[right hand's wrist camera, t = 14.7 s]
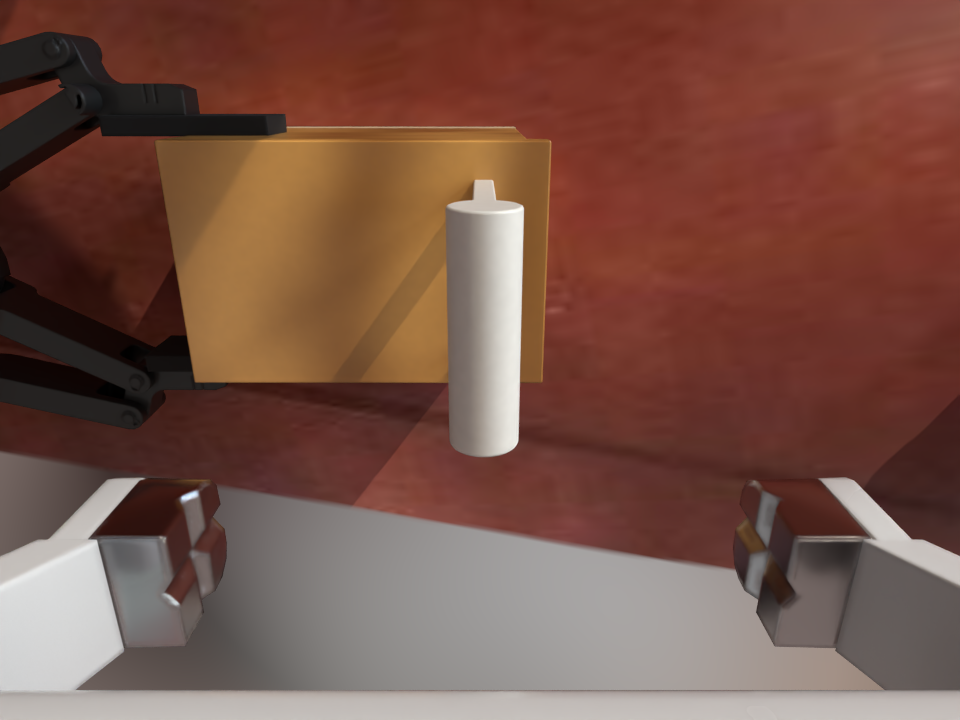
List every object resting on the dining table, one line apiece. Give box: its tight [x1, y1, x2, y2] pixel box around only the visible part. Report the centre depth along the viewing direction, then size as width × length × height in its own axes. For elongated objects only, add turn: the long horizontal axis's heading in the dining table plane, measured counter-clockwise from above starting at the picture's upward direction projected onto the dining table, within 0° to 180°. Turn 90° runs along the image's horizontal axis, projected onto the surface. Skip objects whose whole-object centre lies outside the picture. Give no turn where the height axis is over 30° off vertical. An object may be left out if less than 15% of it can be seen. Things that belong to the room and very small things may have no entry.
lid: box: [154, 139, 551, 457], centre depth 22 cm, size 14×9×9 cm
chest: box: [168, 127, 526, 139], centre depth 31 cm, size 13×9×10 cm
